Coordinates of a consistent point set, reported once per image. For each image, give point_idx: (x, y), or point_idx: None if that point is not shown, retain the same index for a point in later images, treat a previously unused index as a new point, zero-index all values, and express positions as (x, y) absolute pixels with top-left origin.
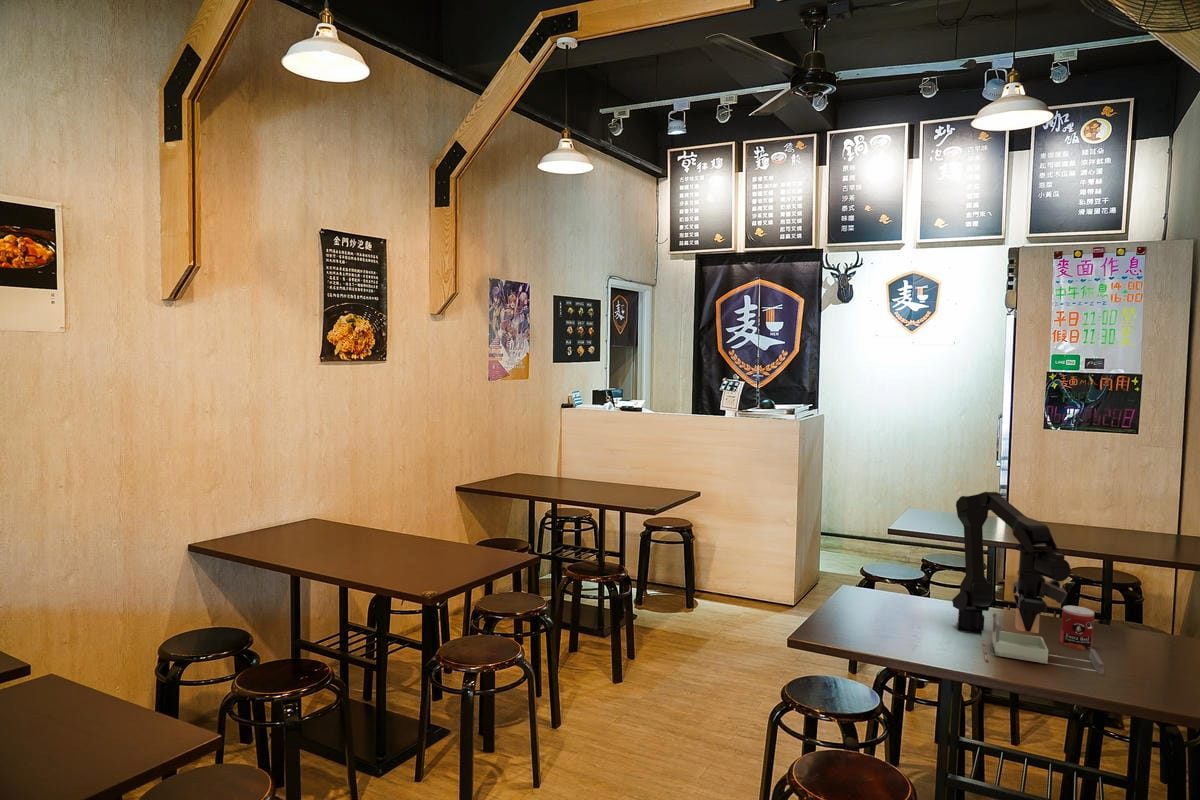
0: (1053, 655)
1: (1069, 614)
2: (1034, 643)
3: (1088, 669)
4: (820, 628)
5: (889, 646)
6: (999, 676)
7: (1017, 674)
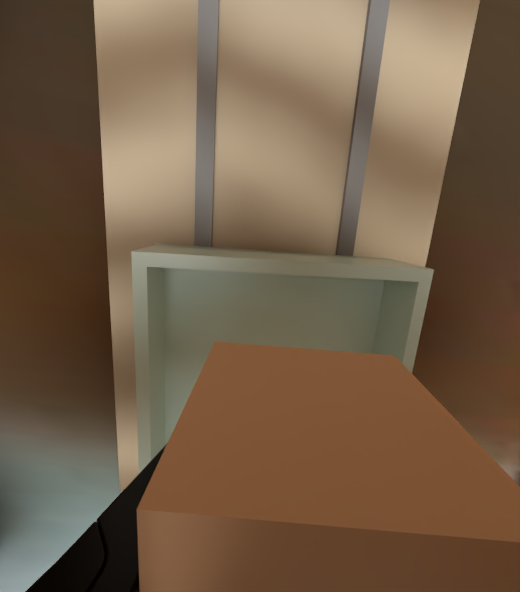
0: (203, 187)
1: None
2: (161, 291)
3: (376, 27)
4: None
5: None
6: (505, 442)
7: (469, 382)
